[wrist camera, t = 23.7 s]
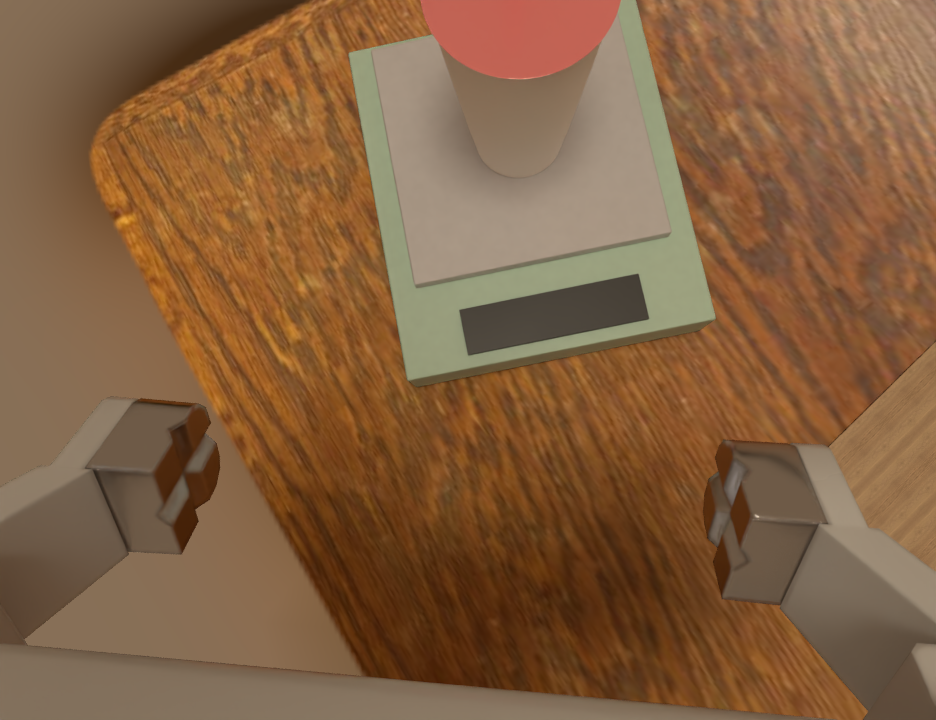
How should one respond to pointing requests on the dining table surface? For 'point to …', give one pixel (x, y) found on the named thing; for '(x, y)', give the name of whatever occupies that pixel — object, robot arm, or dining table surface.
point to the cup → (519, 71)
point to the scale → (528, 218)
